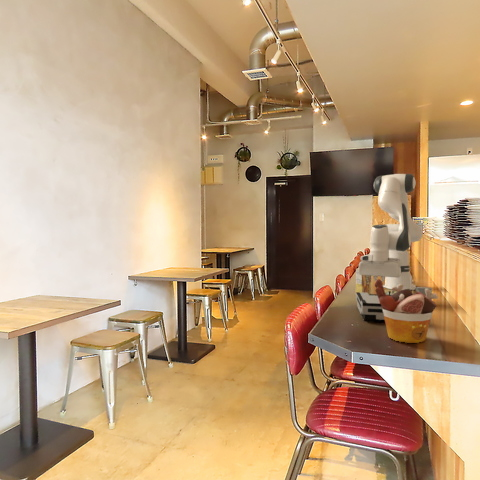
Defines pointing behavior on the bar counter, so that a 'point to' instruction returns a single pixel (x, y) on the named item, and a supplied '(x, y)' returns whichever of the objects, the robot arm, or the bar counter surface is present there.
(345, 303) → the bar counter surface
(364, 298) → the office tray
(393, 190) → the robot arm
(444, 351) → the bar counter surface
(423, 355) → the bar counter surface
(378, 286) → the bucket of meat
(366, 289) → the candy box
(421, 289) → the grey small irregular piece
